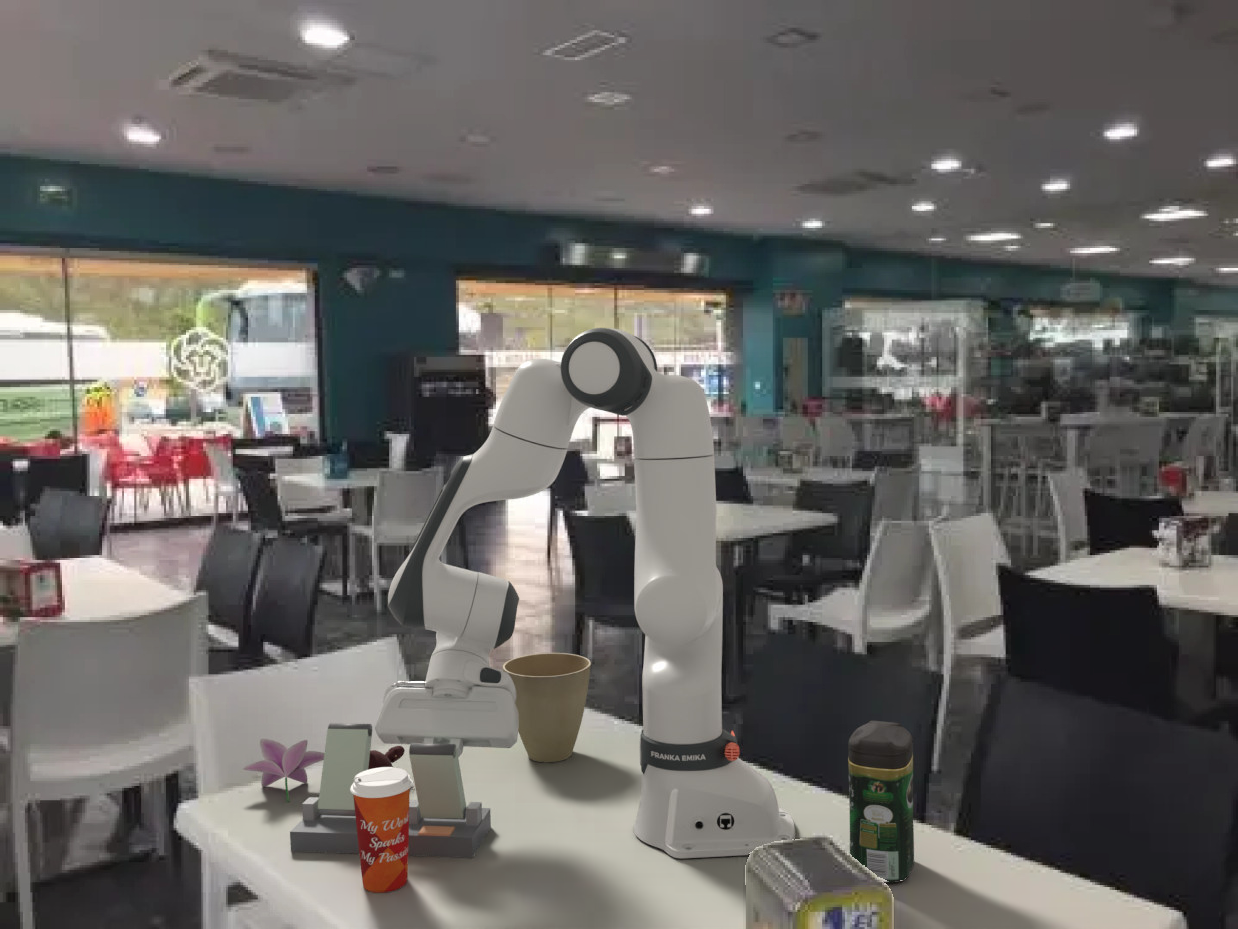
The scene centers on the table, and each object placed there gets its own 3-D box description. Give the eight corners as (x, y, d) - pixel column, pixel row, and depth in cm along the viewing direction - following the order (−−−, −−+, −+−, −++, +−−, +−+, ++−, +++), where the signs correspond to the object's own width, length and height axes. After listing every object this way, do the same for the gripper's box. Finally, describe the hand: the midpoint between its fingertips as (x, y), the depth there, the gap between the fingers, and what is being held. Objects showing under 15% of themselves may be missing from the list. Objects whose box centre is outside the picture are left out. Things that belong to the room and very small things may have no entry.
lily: (343, 793, 171) (333, 734, 174) (306, 790, 160) (297, 727, 164) (275, 814, 172) (266, 755, 176) (234, 813, 162) (226, 750, 165)
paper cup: (360, 902, 132) (355, 791, 131) (349, 876, 139) (345, 771, 138) (422, 889, 135) (418, 780, 134) (409, 864, 142) (405, 761, 141)
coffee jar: (857, 849, 144) (856, 713, 143) (917, 858, 141) (917, 719, 139) (843, 880, 135) (842, 736, 134) (907, 890, 132) (907, 743, 131)
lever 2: (467, 812, 150) (455, 740, 145) (463, 823, 148) (451, 750, 143) (425, 811, 151) (412, 740, 145) (421, 822, 149) (408, 749, 144)
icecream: (354, 772, 159) (422, 750, 172) (320, 752, 163) (388, 732, 176) (345, 816, 160) (412, 791, 173) (311, 795, 164) (379, 772, 177)
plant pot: (505, 743, 190) (502, 655, 188) (589, 739, 191) (587, 651, 190) (505, 773, 175) (502, 677, 174) (596, 768, 176) (594, 673, 175)
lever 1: (362, 816, 151) (373, 724, 156) (357, 816, 149) (368, 723, 154) (322, 815, 152) (333, 724, 157) (316, 814, 150) (328, 722, 155)
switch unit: (490, 827, 154) (489, 792, 153) (472, 858, 144) (471, 820, 143) (320, 822, 157) (318, 787, 157) (290, 851, 147) (289, 814, 147)
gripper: (381, 670, 156) (359, 760, 147) (519, 674, 153) (504, 766, 144) (393, 690, 160) (372, 779, 152) (527, 695, 158) (513, 785, 149)
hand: (437, 773), depth 148 cm, fingers closed, pressing on lever 2
